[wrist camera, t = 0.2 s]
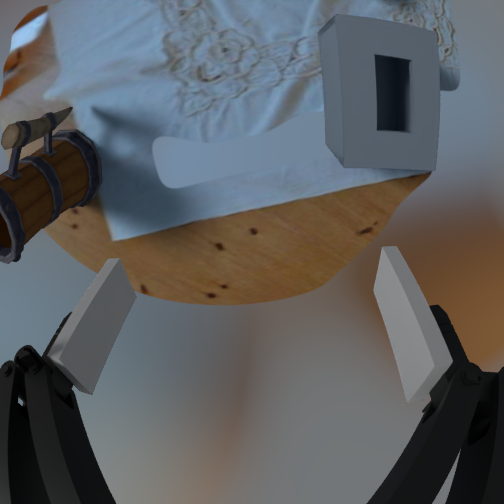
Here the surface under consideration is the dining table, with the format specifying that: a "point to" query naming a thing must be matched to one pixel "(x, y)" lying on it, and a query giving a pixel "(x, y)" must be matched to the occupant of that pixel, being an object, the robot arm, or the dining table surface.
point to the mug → (43, 179)
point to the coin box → (380, 93)
